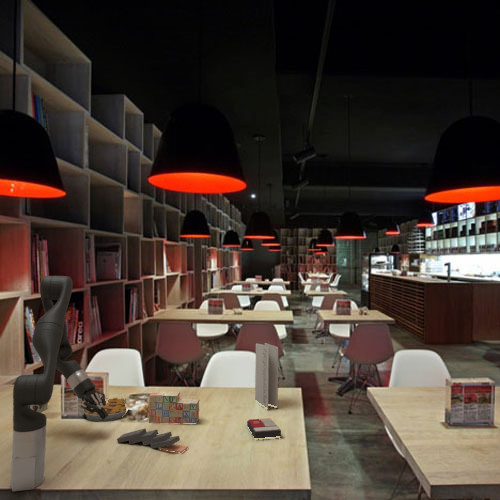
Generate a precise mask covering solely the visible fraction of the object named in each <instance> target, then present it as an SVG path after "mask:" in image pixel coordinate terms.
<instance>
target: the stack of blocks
mask: <svg viewBox="0 0 500 500" xmlns="http://www.w3.org/2000/svg"><path fill="white" fill-rule="evenodd" d="M180 394H181V393H180V391H156V390H155V391H152V392H151V393H150V394H149V396H148V397H149V398H148V399H149V400H148V401H149V402H148V423H149V424H160V423H197V424H198V422H199V420H198V419H200V399H198V398H195V399H194V398H180V397H181V396H180ZM197 421H198V422H197Z"/></svg>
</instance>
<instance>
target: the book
mask: <svg viewBox="0 0 500 500" xmlns="http://www.w3.org/2000/svg"><path fill="white" fill-rule="evenodd" d="M247 426H248V427H249V429H250V431H251V432H252V434H253V436H254V438H265V437H276V436H281V437H282V429H281V428H280V427H279V426H278V425H277V424H276V422H274V421H273V419H272V418H270V417H268V418H254V419H252V418H251V419H248V420H247V421H246V427H247ZM249 429H248V430H249ZM250 431H249V432H250ZM252 434H251V435H252Z"/></svg>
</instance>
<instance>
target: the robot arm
mask: <svg viewBox="0 0 500 500" xmlns="http://www.w3.org/2000/svg"><path fill="white" fill-rule="evenodd" d="M72 279H73V278H71V277H70V276H67V275H44V276H43V277H42V278H41V281H40V285H39V292H40V298H41V303H42V308H43V312H44V314H43V315H42V316H41V317H40V318H39V319H38V320H37V322H36V324H35V327H34V329H33V334H32V338H31V343H32V346H33V348H34V350H35V352H36V353H37V355H38V357H39V359H40V361H41V363H42V364H43V373H41V374H40V373H39V374H37V373H36V374H22V375H21V374H20V375H18V377H16V379H15V381H14V384H13V389H12V408H13V409H12V412H13V413H12V423H13V424H12V440H11V441H12V445H11V446H12V447H11V463H10V464H11V466H10V489H11V491H12V492H18V491H21V492H22V491H28V490H31V491H32V490H35V488H37V487H39V486H40V485H42V484H43V483H44V481H45V468H46V467H45V466H46V465H45V462H46V441H47V439H46V438H47V423H48V422H47V416H46V414H44V413H42V412H37V411H34V410H32V409H31V408H29V407H28V405H41V404H46V403H49V402H50V401H51V399H52V396H53V392H54V386H55V377H56V376H55V375H56V370H57V371H58V372H60V374H61V375H62V376H63V378H64V379H65V380H66V381H67V383H68V386H69V387H70V389H71V390H72V391H73V392H74V394H75V396H77V398H78V399H80V400H81V401H82V404H81V405H80V407H81V409H82V410H83V409H85V410H87V411H89V412H91V413H94V412H96V413H98V415H99V416H100V417H101V418H102V419H103V420H104V419H105V418H107V417H108V413H107V412H106V411H105V409H104V406H105V405H106V401H105V399H106V395H105V393H102V394H101V393H99V392H98V391H97V390H96V384H95V383H94V382H93V380H92V379H91V377H90V376H89V375H88V374H87V372H86V371H85V370H83V368H82V367H81V365H80V364H79V363H78V362H77V361H76V360H75V359H73V360H68V359H69V358H70V357H71V356H72V355H73V346H72V345H71V343H70V340H69V336H68V325H67V322H66V315H67V311H68V307H69V303H70V300H71V297H72V294H73V283H74V282H73V280H72ZM53 301H56V303H54V302H53ZM66 359H67V360H68V361H66Z"/></svg>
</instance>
